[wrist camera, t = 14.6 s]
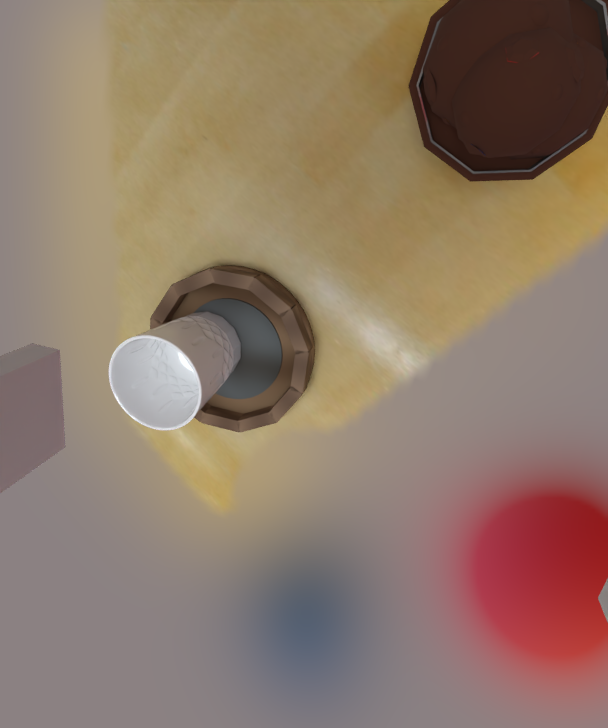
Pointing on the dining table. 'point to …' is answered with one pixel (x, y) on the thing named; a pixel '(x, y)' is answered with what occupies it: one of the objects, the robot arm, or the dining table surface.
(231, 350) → the white cup
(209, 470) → the dining table surface
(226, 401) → the tray
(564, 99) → the ice cream bowl
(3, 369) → the robot arm
